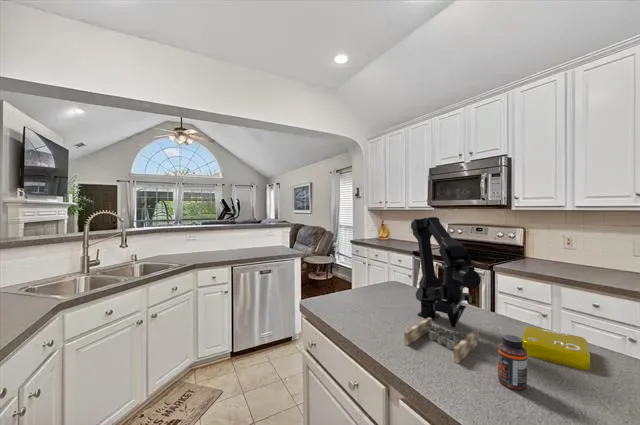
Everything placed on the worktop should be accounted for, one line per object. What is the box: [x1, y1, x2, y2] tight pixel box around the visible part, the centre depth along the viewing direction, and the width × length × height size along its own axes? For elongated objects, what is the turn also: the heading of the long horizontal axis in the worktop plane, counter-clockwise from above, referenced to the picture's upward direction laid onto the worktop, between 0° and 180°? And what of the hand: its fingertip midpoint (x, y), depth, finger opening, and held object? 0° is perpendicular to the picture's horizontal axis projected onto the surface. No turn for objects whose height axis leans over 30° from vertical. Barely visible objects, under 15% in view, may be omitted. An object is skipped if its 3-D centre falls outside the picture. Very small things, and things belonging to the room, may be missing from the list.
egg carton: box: [427, 326, 468, 350], centre depth 94 cm, size 11×8×4 cm
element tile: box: [521, 326, 591, 371], centre depth 87 cm, size 15×15×5 cm
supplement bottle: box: [497, 334, 528, 391], centre depth 71 cm, size 6×6×11 cm
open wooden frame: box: [403, 317, 480, 364], centre depth 92 cm, size 17×16×4 cm
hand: (453, 327), depth 99 cm, fingers closed
